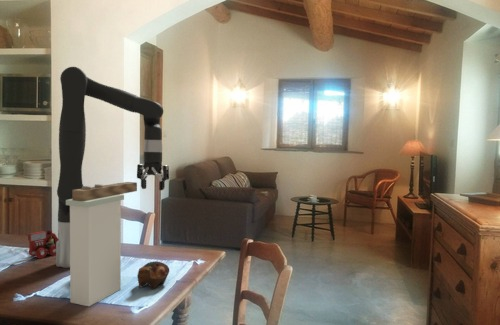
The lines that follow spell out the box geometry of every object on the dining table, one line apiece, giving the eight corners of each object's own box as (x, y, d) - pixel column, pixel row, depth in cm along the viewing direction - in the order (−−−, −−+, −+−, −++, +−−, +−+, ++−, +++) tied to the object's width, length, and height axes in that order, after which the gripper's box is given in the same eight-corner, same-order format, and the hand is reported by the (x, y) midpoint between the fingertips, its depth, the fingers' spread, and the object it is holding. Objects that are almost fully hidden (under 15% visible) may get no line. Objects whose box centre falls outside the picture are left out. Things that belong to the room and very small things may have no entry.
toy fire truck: (63, 253, 162) (63, 229, 162) (33, 260, 152) (33, 235, 151) (54, 250, 166) (54, 226, 166) (24, 257, 156) (24, 232, 155)
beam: (127, 190, 135) (127, 179, 135) (136, 191, 134) (136, 180, 133) (72, 200, 112) (72, 187, 111) (83, 201, 110) (83, 188, 110)
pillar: (104, 284, 129) (104, 193, 127) (123, 288, 126) (124, 194, 124) (66, 303, 114) (65, 200, 112) (87, 308, 111) (87, 202, 109)
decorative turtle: (128, 291, 123) (128, 266, 123) (152, 279, 138) (151, 256, 138) (155, 294, 121) (155, 268, 121) (176, 280, 135) (176, 257, 135)
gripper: (133, 150, 158) (132, 189, 159) (162, 151, 153) (162, 191, 154) (143, 150, 165) (143, 187, 166) (172, 151, 161) (172, 189, 161)
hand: (152, 189), depth 160 cm, fingers open, 8 cm apart
